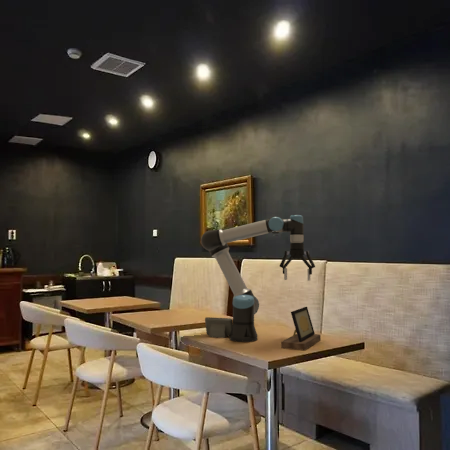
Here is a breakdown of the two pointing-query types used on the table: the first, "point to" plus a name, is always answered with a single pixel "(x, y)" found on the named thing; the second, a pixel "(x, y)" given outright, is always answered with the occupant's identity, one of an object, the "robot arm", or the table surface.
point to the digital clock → (218, 327)
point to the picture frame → (302, 324)
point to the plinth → (303, 345)
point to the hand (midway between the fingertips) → (297, 280)
